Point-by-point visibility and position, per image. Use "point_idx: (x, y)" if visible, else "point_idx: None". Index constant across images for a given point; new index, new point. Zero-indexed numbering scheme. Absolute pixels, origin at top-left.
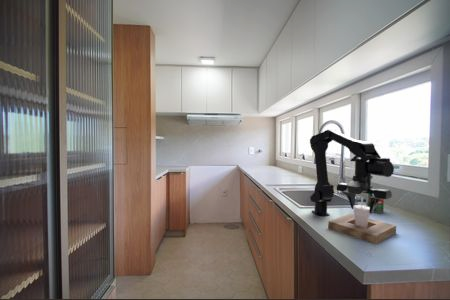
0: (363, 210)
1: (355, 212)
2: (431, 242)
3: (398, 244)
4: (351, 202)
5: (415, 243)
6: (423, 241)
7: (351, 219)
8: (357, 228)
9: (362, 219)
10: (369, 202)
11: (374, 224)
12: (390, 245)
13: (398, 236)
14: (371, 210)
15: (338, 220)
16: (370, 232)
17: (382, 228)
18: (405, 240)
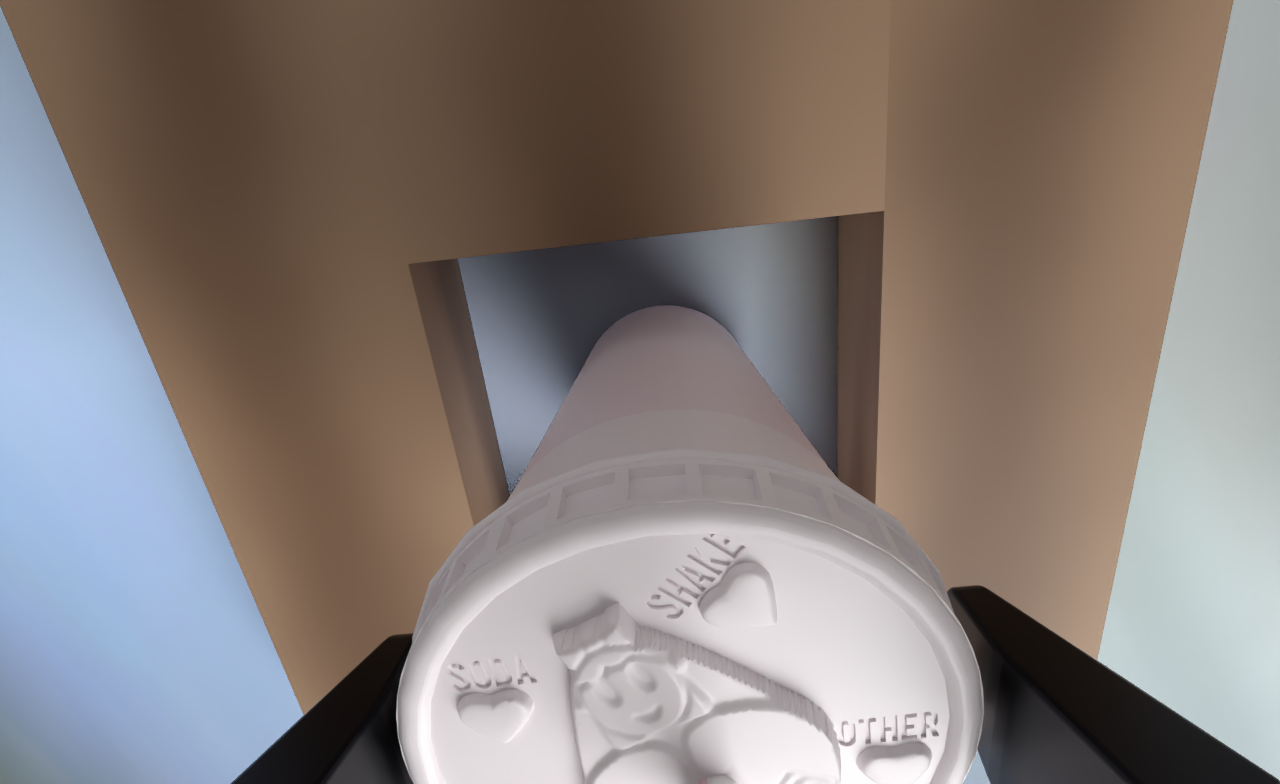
0: (485, 541)
1: (770, 445)
2: (31, 741)
3: (43, 343)
4: (1128, 755)
5: (35, 573)
6: (73, 703)
7: (904, 473)
8: (491, 30)
9: (572, 408)
10: None
11: None
12: (29, 186)
13: None
14: (315, 706)
15: (1076, 142)
16: (192, 64)
17: (302, 513)
18: (145, 564)
